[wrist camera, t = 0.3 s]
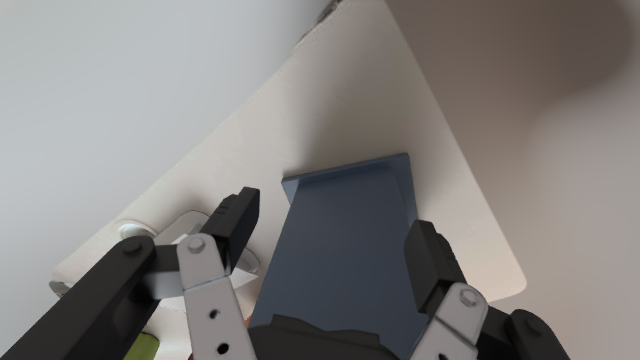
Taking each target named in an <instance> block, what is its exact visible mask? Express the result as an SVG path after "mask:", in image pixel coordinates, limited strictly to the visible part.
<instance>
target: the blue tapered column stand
mask: <svg viewBox="0 0 640 360" xmlns="http://www.w3.org/2000/svg"><path fill="white" fill-rule="evenodd" d="M281 184H282V186H283V189H284V191H285V193H286V196H287V198H288V200H289V203H290V205H291V207H290V209H289V212H288V215H287V218H286V221H285V223H284V226H283V229H282V232H281V235H280V237H279V240H278V243H277V246H276V249H275V251H274V254H273V257H272V260H271V263H270V265H269V268H268V271H267V274H266V277H265V279H264V282H263V285H262V288H261V291H260V294H259V296H258V299H257V302H256V305H255V308H254V310H253V313H252V316H251V319H250V322H249V324H248V327H247V328H249V327H252V326H254V325H257V324H260V323H265V322H271V320H272V317H273V313H274V314H279V315H284V316H289V317H294V318H299V319H301V320H303V321H305V322H308V323H310V324H312V325H314V326H316V327H318V328H320V329H322V330H324V331H335V330H348V329H355V330H360V331H366V332H371V333H376V334H379V337H380V344H382V345H384V346H385V347H387V348H388V349H390V350H391V351H392V352H394V353H395V354H396V355H397V356H398V357H399V358H400V359H401V360H405V359H406V357H407V355H408V354H409V352H410V350H411V349H412V347H413V345H414V344H415V342H416V340H417V339H418V337H419V335H420V333H421V332H422V330H423V328H424V327H425V325H426V323H427V322H428V320H429V318H428V315H427V314H422V313H418V311H417V307H416V303H415V299H414V294H413V290H412V286H411V282H410V277H409V273H408V269H407V265H406V260H405V256H404V242H405V240H406V237H407V235H408V233H409V231H410V228H411V226H412V224H413V222H414V220H415V219H417V213H416V206H415V198H414V191H413V184H412V177H411V170H410V162H409V156H408V154H407V153H402V154H397V155H392V156H388V157H383V158H378V159H374V160H369V161H364V162H359V163H355V164H350V165H345V166H340V167H336V168H331V169H326V170H321V171H317V172H312V173H307V174H303V175H298V176H293V177H288V178H284V179H282V181H281Z"/></svg>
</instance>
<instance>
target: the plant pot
mask: <svg viewBox="0 0 640 360" xmlns="http://www.w3.org/2000/svg"><path fill="white" fill-rule="evenodd" d="M158 348H159V341H158V340H157V339H156V338H154V337H153V336H152V335H149V334H142V333H140V334H139V336H138V338H137V339H136V341H135V342H134V344H133V345H132V347H131V349H130V350H129V352H128V353H127V355H126V356H125V358H124V359H123V360H153V359H154V357H155V355H156V352H157V350H158Z"/></svg>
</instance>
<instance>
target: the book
mask: <svg viewBox="0 0 640 360" xmlns="http://www.w3.org/2000/svg"><path fill="white" fill-rule="evenodd" d="M209 218H210V217H208V216H207V215H205V214H203V213H201V212H196V211H189V212H186V213H184V214H183V215H182V216H181V217H179V218H178V219H177V220H176V221H174V222H173V223H172V224H171V225H169V226H168V227H167V228H166V229H164V230H163V231H162V232H161V233H159V234H158V235H157V236H156V237H155V238H153V241H154V243H155V245H170V244H179V242H180V241H181V240H182V239H184V238H185V237H187V236H189V235H192V234H196V233H198V232H199V231H200V229H201V228H202V227H203V226H204V224H205V223H206V222H207V220H208V219H209ZM259 267H260V266H259V261H258V259H257V258H256V257H255V256H254V254H252V253H251V252H250V251H249V250H248V249H247V248H244V250H243V252H242V254H241V256H240V258H239V260H238V262H237V264H236V266H235V268H234V270H233V272H232V274H231V276H230V275H229V277H230V280H231V283H232V286H233V289H234V290H235V289H237V288H239V287H241V286H243V285H244V284H246V283H248V282H250V281H252V280H254V279H256V278H258V277H259V275H256V274H253V273H254V272H256V271H257V270H258V268H259ZM159 305H160V306H162V307H165V308H168V309H171V310H174V311H179V312H183V313H186V309H185V302H184V296H181V297H172V298H163V299H162V300H161V301H160V303H159Z"/></svg>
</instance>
